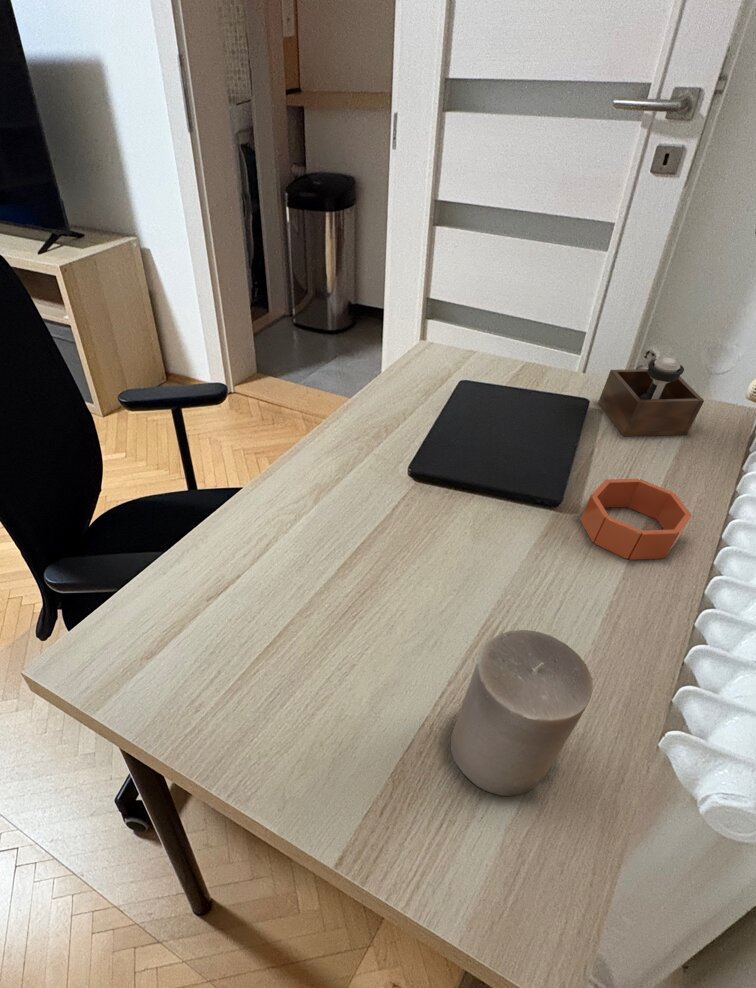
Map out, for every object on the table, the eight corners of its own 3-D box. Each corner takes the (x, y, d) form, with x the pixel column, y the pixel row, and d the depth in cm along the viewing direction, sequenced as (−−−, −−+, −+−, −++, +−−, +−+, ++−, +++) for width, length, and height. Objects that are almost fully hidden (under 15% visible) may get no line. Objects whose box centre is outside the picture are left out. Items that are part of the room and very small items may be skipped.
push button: (624, 403, 110) (647, 347, 102) (656, 406, 109) (681, 351, 102) (629, 422, 105) (654, 366, 98) (662, 426, 104) (690, 369, 97)
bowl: (650, 502, 91) (663, 477, 88) (689, 557, 83) (705, 532, 80) (571, 505, 91) (581, 479, 87) (602, 560, 82) (615, 535, 79)
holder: (657, 401, 112) (672, 368, 107) (686, 434, 104) (704, 400, 100) (597, 403, 111) (610, 369, 107) (623, 436, 104) (638, 402, 99)
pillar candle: (543, 721, 65) (593, 628, 54) (549, 807, 59) (607, 721, 48) (450, 704, 66) (481, 610, 56) (446, 787, 60) (479, 699, 49)
